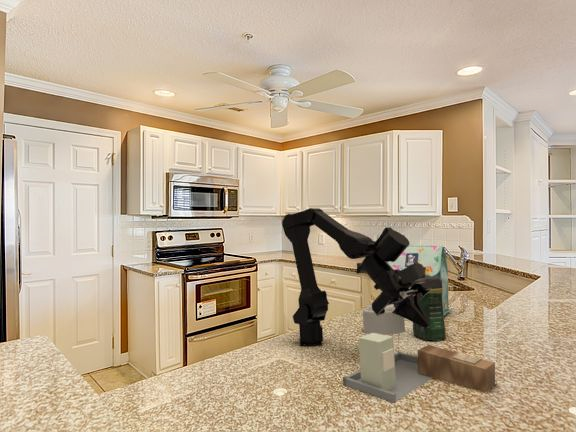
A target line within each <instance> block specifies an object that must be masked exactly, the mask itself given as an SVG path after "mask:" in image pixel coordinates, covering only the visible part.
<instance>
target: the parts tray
mask: <svg viewBox="0 0 576 432" xmlns="http://www.w3.org/2000/svg"><path fill="white" fill-rule="evenodd" d="M394 359H395V376H396V387H394V388H393V389H391V390H389V391H387V390H384V389H381V388H378V387H375V386H372V385H369V384H366V383H363V382H361V372H360V369H359V370H356V371H355V372H352V373H350V374H348V375H346V376H344V377H342V385H343V386H345V387H347V388H351V389H353V390H355V391H356V390H357V391H359V392H362V393H365V394H369V395H371V396H373V397H376V398H379V399H382V400H385V401H388V402H390V403H393V404H394V403H396V402H398V401H399V400H401V399H403V398H404V397H406V396H407V395H409V394H410V393H412V392H413V391H414V390H415V391H416V389H418V388H419V387H421V386H423V385H425V384H426V383H427V382H429V381H431V380H433V378H432V377H429V376H426V375H423V374H420V373H418V355H413V354H409V353H405V352H400V351H398V352H394Z"/></svg>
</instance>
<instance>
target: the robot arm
mask: <svg viewBox="0 0 576 432" xmlns="http://www.w3.org/2000/svg"><path fill="white" fill-rule="evenodd" d="M281 225H282V229H283V233H284V236H286V238H287V240H289V242H290V243H291V245H292V250H293V256H294V260H295V265H296V269H297V274H298V279H299V285H300V292H299V296H298V299H297V300H298V308H297V310H296V311H295V312H294V314H293V315H292V319H293V323H294V324H297V325H299V328H298V329H299V346H300V347H303V346H304V347H305V346H322V345H323V343H322V342H323V341H324V332H323V330H324V329H323V325H322V324H321V321H325V319H326V315H327V312H328V311H329V305H330V303H329V299H328V295H327V292H326V290H321V288H319V286H318V284H317V282H318V281H317V278H316V273H315V269H314V264H313V260H312V255H311V249H310V245H309V241H308V239H309V237H310V234H311V227H312V226H316V227H317V229H319V230H321V231H322V232H324V233H325V234H326V235H328V236H329V237H330V238H331V239H333V240H334V241H335V242H336V243H337V244H338V247H339V248H340V250H341V252H343V254H344V255H346V257H347V258H348V259H351V260H357V259H363V260H362V261H361V262H356V271H355V273H356V274H357V275H359V274H364V273H366V274H367V276H368V277H369V279H371V280H372V282H373V283H374V285H373V288H374V289H375V290H376V291H378V290H380V291H381V292H380V294H379V295H378V296H377V297H376V298H375V299H374V300H373V301H372V303H371V304H372V310H373V311H374V313H375V314H376V315H377V316H379V315H382V314H384V313H385V309H384V308H385V307H386V306H387V305H391V304H393V305H394V308H395V310H394V311H393V312H392V313H393V314H397V315H399V316H401V317H403V318H404V319H406V320H408V321H409V322H412V323H413V322H414V323H416V324H418V325H420V326H422V327H424V328H428V327H429V326H430V323H429V321H428V319H427V317H426V314H425V312H424V310H423V308H422V305H421V299H422V298H423V297H424V296H425V295H426V294H427V293H428V292H429V291H430V290H431V289H432V288H431V286H430V285H429V284H428V283H427V282H419V283H415V284H414V283H413V281H415V280H417V279H420V278H424V277H426V274H425V270H426V268H425V267H423V265H422V264H420V263H418V262H415V263H414V264H411V265H410V266H409V267H407V268H405V269H403V270H401V271H400V270H399V269H396V270H394V269H393V268H392V267H391V266H390V265H389V264H388V263H387V262H389V261H391V262H395V261H396V260H397V259H398V257H399V256H400V255H401V254H402V253H403V252H404V250H405V249H406V248H407V247H408V246H410V244H411V243H410V241H409V239H408V238H407V237H406V236H405V235H404V234H402V233H400V232H398V231H396V230H394V229H393V228H392V227H391V226H390V227H389V226H388V227H385V228H384V229H383V230H382V232H381V234H380V236H378V237H377V239H376V240H373V239H372V238H371V237H370V236H368V235H365V234H364V233H363V234H362V233H360V232H357V231H354V230H351V229H348V228H347V227H345V226H344V225H343V224H342V223H340V222H339V221H337V220H335V219H334V218H333V217H331V216H330V215H329V214H327V213H325V212H324V210H323V209H321V208H318V207H317V208H316V207H309V208H307V209H305V210H302V211H299V212H294V213H287V214H285V216H283V219H282V220H281ZM413 284H414V285H413ZM412 285H413V286H412ZM411 286H412V287H411ZM410 287H411V288H410ZM409 288H410V289H409Z"/></svg>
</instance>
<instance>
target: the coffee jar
mask: <svg viewBox="0 0 576 432" xmlns="http://www.w3.org/2000/svg"><path fill="white" fill-rule="evenodd" d="M419 282H427V283H428V284H429V285H430V286H431V288H432V289H431V290H430V291H429V292H428V293H427V294H426V295H425V296H424V297H423V298H422V299H421V305H422V308H423V310H424V312H425V314H426V317H427V319H428V321H429V323H430V326H429V327H428V328H424V327H422V326H420V325H418V324H416V323H414V322H412V332H413V335H414V336H415V337H418V338H419V339H422V340H425V341H429V340H430V341H433V342H434V341H435V342H436V341H441V340H444V339H446V336H447V335H446V332H447V331H446V322H445V318H444V317H445V316H444V314H443V304H442V292H443V288H442V281H441V279H439V278H438V277H433V276H428V275H426V277H424V278H420V279H417V280H415V281H413V283H414V284H415V283H419ZM414 284H413V285H414ZM413 285H412V286H413ZM412 286H411V287H412ZM411 287H410V288H411Z"/></svg>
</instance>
